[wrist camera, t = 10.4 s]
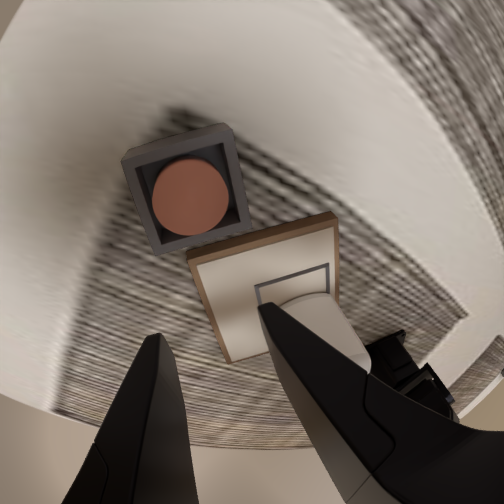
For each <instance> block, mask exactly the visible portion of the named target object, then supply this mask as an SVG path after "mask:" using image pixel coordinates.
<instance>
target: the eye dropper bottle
mask: <svg viewBox="0 0 504 504" xmlns="http://www.w3.org/2000/svg"><path fill="white" fill-rule="evenodd" d="M280 308H282V309H283V310H284V311H286V312H287V313H288V314H290V315H291V316H292V317H294V318H295V319H296V320H298V321H299V322H300V323H302V324H303V325H304V326H306V327H307V328H308V329H310V330H311V331H313V332H314V333H315V334H317V335H318V336H319V337H321V338H322V339H323V340H325V341H326V342H328V343H329V344H330V345H332V346H333V347H334V348H336V349H337V350H338V351H340V352H341V353H343V354H344V355H345V356H347V357H348V358H350V359H351V360H352V361H354V362H355V363H356V364H358V365H359V366H361V367H362V368H363V369H365V370H366V371H367V372H368V373H370V369H371V359H370V356H369V354H368V352H367V351H366V349H365V347H364V346H363V344H362V342H361V341H360V339H359V337H358V336H357V334H356V332H355V331H354V329H353V328H352V326H351V324H350V323H349V321H348V320H347V318H346V317H345V315H344V313H343V312H342V310H341V309H340V307H339V306H338V304H337V303H336V301H335V300H334V298H333V297H332V296H331V295H330V294H327V293H315V294H309V295H305V296H302V297H298V298H296V299H293V300H291V301H289V302H287V303H285V304H283V305H282V306H280ZM367 375H368V374H367Z"/></svg>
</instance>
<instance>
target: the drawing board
mask: <svg viewBox="0 0 504 504" xmlns="http://www.w3.org/2000/svg"><path fill="white" fill-rule="evenodd" d="M186 255H187V262H188V264H189V267H190V270H191V273H192V276H193V278H194V281H195V284H196V286H197V289H198V292H199V294H200V297H201V300H202V302H203V305H204V307H205V310H206V313H207V315H208V318H209V320H210V323H211V325H212V328H213V330H214V333H215V335H216V338H217V340H218V343H219V345H220V348H221V350H222V352H223V355H224V357H225V360H226V362H227V364H232V363H235V362H239V361H242V360H246V359H249V358H252V357H256V356H259V355H262V354H266V353H269V349H268V346H267V343H266V340H265V337H264V334H263V331H262V327H261V323H260V319H259V315H258V310H257V307H258V305H261V304H264V303H267V302H274V303H275V304H276V305H278V306H279V307H280V306H282V305H283V304H285V303H287V302H289V301H291V300H293V299H296V298H298V297H302V296H305V295H309V294H315V293H327V294H330V295H331V296H332V297H333V298H334V300H335V301H336V303H337V304H338V306H339V232H338V217H336V216H335V215H334V214H333V213H332V212H331V211H330V212H326V213H322V214H318V215H315V216H311V217H307V218H304V219H300V220H296V221H292V222H289V223H285V224H281V225H278V226H274V227H270V228H267V229H263V230H260V231H256V232H252V233H249V234H245V235H242V236H238V237H235V238H231V239H227V240H224V241H220V242H217V243H213V244H210V245H206V246H203V247H199V248H196V249H192V250H189V251H186Z"/></svg>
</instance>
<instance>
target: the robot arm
mask: <svg viewBox="0 0 504 504" xmlns="http://www.w3.org/2000/svg"><path fill="white" fill-rule="evenodd" d="M257 310H258V315H259V319H260V323H261V327H262V331H263V334H264V337H265V340H266V343H267V346H268V349H269V352H270V355H271V357H272V360H273V363H274V366H275V369H276V372H277V375H278V377H279V380H280V382H281V384H282V386H283V389H284V391H285V393H286V394H287V396H288V398H289V400H290V402H291V404H292V406H293V408H294V410H295V412H296V414H297V416H298V418H299V419H300V421H301V423H302V425H303V427H304V429H305V431H306V433H307V435H308V436H309V438H310V440H311V442H312V444H313V446H314V448H315V449H316V451H317V453H318V455H319V457H320V459H321V460H322V462H323V464H324V466H325V468H326V470H327V471H328V473H329V475H330V477H331V479H332V481H333V482H334V484H335V486H336V487H337V489H338V491H339V493H340V494H341V496H342V498H343V500H344V501H345V503H346V504H504V431H485V430H478V429H474V428H470V427H467V426H464V425H462V424H459V418H458V416H457V415H456V413H455V412H454V410H453V409H452V407H451V405H452V404H453V403H454V402H455V400H454V398H453V397H452V395H451V394H450V392H449V391H448V390H447V388H446V387H445V385H444V384H443V383H442V381H441V380H440V378H439V377H438V376H437V374H436V373H435V372H434V370H433V369H432V368H431V366H430V365H429V364H428V362H427V363H426V364H425V365H424V366H423V367H422V368H421V369H419V368H418V366H417V365H416V363H415V362H414V361H413V359H412V357H411V356H410V354H409V353H408V352H407V350H406V349H405V348H404V346H403V343H404V339H405V336H406V332H405V331H404V330H402V331H400V332H398V333H396V334H394V335H392V336H389V337H387V338H385V339H383V340H381V341H378V342H376V343H374V344H372V345H369V346H367V347H365V349H366V351H367V352H368V354H369V356H370V359H371V369H370V373H368V372H367V371H366V370H365V369H363V368H362V367H361V366H359V365H358V364H356V363H355V362H354V361H352V360H351V359H350V358H348V357H347V356H345V355H344V354H343V353H341V352H340V351H338V350H337V349H336V348H334V347H333V346H332V345H330V344H329V343H328V342H326V341H325V340H323V339H322V338H321V337H319V336H318V335H317V334H315V333H314V332H313V331H311V330H310V329H308V328H307V327H306V326H304V325H303V324H302V323H300V322H299V321H298V320H296V319H295V318H294V317H292V316H291V315H290V314H288V313H287V312H286V311H284V310H283V309H282V308H280V307H279V306H278V305H276V304H275V303H274V302H267V303H264V304H261V305H258V307H257ZM367 374H368V375H367ZM432 378H434V380H432ZM94 442H95V443H92V446H91V448H90V450H89V452H88V454H87V456H86V458H85V461H84V463H83V465H82V467H81V469H80V471H79V473H78V475H77V476H76V478H75V480H74V482H73V484H72V486H71V487H70V489H69V491H68V493H67V494H66V496H65V498H64V500H63V502H62V503H61V504H199V501H198V495H197V489H196V483H195V477H194V471H193V464H192V457H191V451H190V442H189V435H188V426H187V418H186V410H185V404H184V399H183V395H182V390H181V386H180V381H179V376H178V372H177V367H176V362H175V357H174V354H173V352H172V350H171V348H170V346H169V345H168V343H167V341H166V339H165V338H164V336H163V335H162V334H161V333H156V334H152V335H148V336H147V337H146V338H145V340H144V341H143V343H142V345H141V347H140V349H139V351H138V353H137V355H136V357H135V358H134V360H133V362H132V364H131V366H130V368H129V370H128V372H127V374H126V376H125V378H124V380H123V382H122V384H121V386H120V388H119V390H118V392H117V394H116V396H115V398H114V400H113V402H112V404H111V406H110V408H109V410H108V412H107V414H106V416H105V418H104V420H103V422H102V424H101V427H100V429H99V431H98V433H97V435H96V437H95V439H94Z"/></svg>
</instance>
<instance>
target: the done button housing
mask: <svg viewBox="0 0 504 504" xmlns="http://www.w3.org/2000/svg"><path fill="white" fill-rule="evenodd" d="M185 155H195V156H199V157H203V158H205V159H207V160H208V161H210V162H211V163H212V164H214V165H215V167H216V168H217V169H218V171H219V172H220V174H221V176H222V178H223V180H224V182H225V184H226V187H227V190H228V197H229V200H228V206H227V210H226V212H225V214H224V216H223V218H222V219H221V220H220V222H219V223H218V224H217V225H216V226H214V227H213V228H212V229H210V230H208V231H206V232H204V233H201V234H197V235H180V234H176V233H174V232H172V231H170V230H168V229H167V228H165V227H164V226H163V225H162V224H161V223H160V222H159V221H158V219H157V217H156V215H155V213H154V210H153V205H152V197H153V191H154V185H155V181H156V177H157V175H158V173H159V172H160V170H161V169H162V168H163V166H164V165H166V164H167V163H168V162H169V161H171V160H173V159H175V158H177V157H180V156H185ZM121 164H122V167H123V170H124V173H125V176H126V179H127V182H128V185H129V188H130V191H131V194H132V197H133V199H134V202H135V205H136V208H137V210H138V213H139V216H140V218H141V221H142V224H143V226H144V229H145V232H146V234H147V237H148V239H149V242H150V244H151V247H152V249H153V252H154V254H155V256H158V255H161V254H164V253H168V252H171V251H175V250H178V249H181V248H185V247H188V246H192V245H195V244H199V243H202V242H206V241H209V240H213V239H216V238H220V237H223V236H227V235H230V234H234V233H238V232H241V231H245V230H248V229H252V223H251V218H250V213H249V208H248V203H247V198H246V193H245V188H244V183H243V179H242V174H241V169H240V164H239V159H238V154H237V149H236V144H235V140H234V135H233V130H232V128H230V127H229V126H228V125H226V124H225V123H220V124H215V125H211V126H207V127H203V128H199V129H196V130H192V131H188V132H185V133H181V134H177V135H174V136H170V137H167V138H164V139H160V140H157V141H154V142H151V143H148V144H144V145H141V146H138V147H135V148H132V149H129V150H128V151H127V153H126V154H125V156H124V157H123V158H122V160H121Z"/></svg>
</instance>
